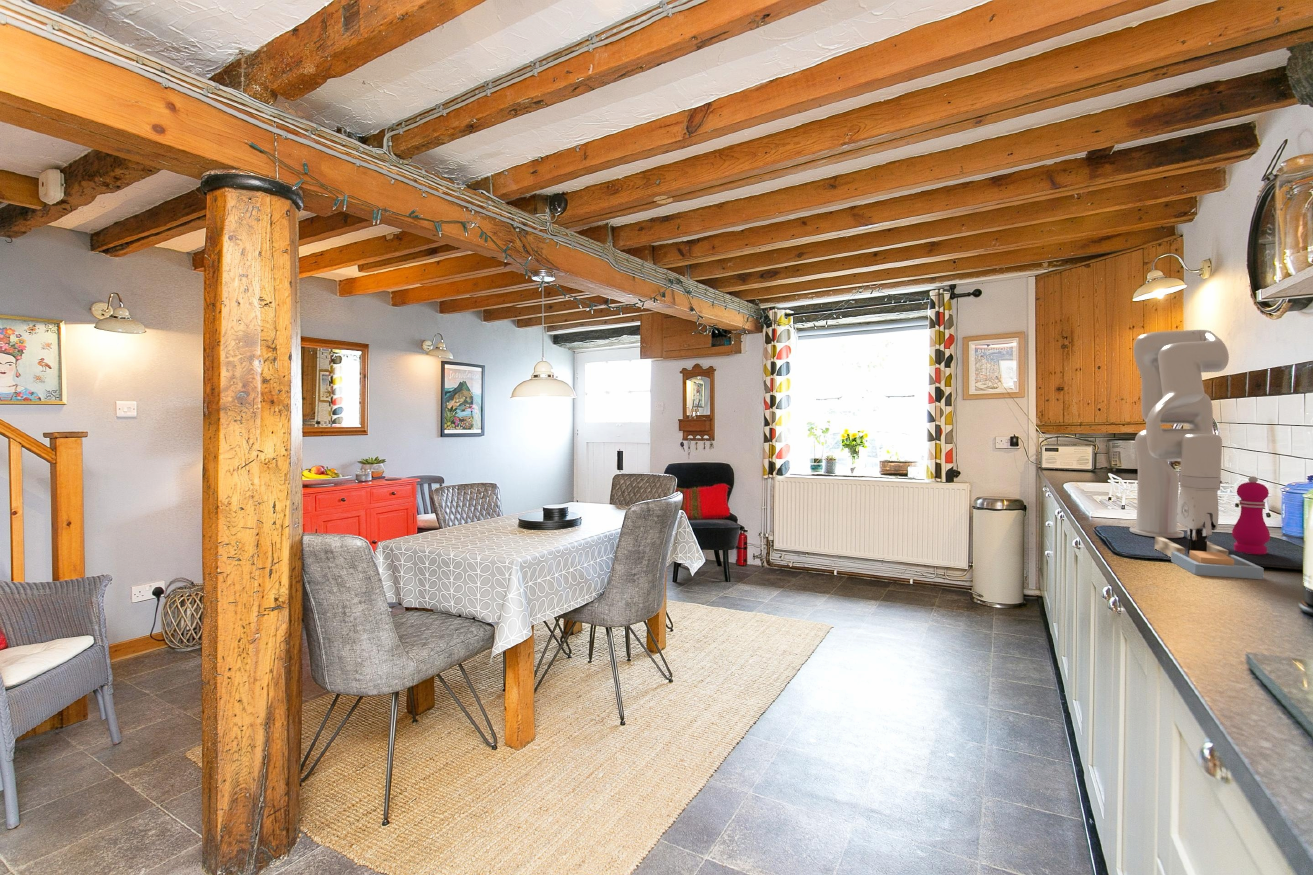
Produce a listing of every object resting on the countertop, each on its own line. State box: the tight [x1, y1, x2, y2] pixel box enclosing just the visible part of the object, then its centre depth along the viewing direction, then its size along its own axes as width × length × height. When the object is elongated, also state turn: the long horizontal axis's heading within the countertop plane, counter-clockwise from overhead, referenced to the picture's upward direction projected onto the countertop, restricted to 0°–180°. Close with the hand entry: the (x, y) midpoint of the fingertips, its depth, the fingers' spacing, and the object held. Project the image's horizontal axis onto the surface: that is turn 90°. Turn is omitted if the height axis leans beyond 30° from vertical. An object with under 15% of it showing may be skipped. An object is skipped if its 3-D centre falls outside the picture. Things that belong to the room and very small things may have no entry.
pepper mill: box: [1231, 475, 1271, 555], centre depth 160 cm, size 7×7×20 cm
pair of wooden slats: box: [1154, 537, 1230, 557], centre depth 157 cm, size 13×10×4 cm
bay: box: [1170, 552, 1265, 580], centre depth 145 cm, size 12×12×2 cm
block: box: [1188, 550, 1234, 565], centre depth 145 cm, size 7×6×4 cm
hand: (1196, 555), depth 153 cm, fingers closed
